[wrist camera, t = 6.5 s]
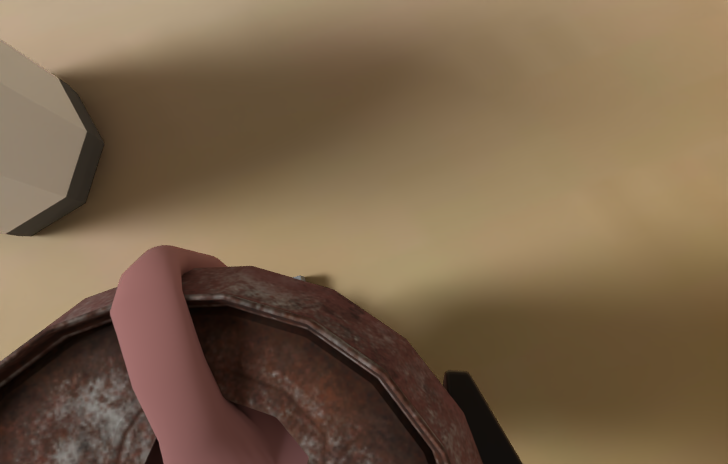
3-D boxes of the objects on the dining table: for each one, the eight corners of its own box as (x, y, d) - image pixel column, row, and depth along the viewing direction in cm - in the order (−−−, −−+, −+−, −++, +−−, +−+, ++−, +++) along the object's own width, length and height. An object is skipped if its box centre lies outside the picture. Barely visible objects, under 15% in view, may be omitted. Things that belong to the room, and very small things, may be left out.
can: (377, 273, 19) (378, 141, 5) (437, 446, 18) (661, 915, 4) (219, 327, 18) (-251, 352, 5) (270, 505, 17) (-144, 1237, 4)
